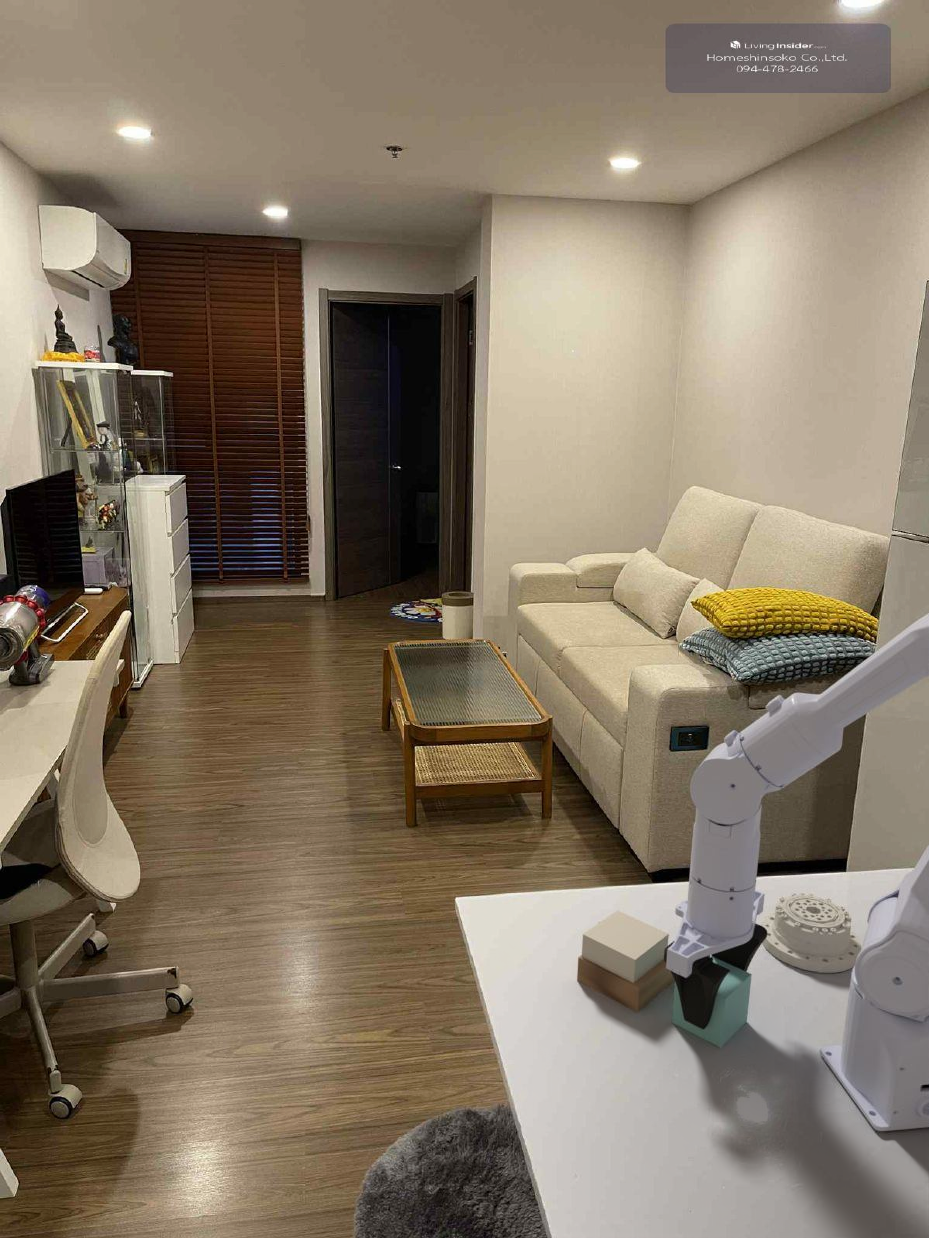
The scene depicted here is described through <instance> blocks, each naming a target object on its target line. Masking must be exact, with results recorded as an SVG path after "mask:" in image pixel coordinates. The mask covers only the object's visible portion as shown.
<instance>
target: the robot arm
mask: <svg viewBox="0 0 929 1238" xmlns="http://www.w3.org/2000/svg"><path fill="white" fill-rule="evenodd" d="M927 677H929V612H928V613H927V614H925V615H923V616H922V617H921V618H919V619H918V620H916V621H914V622H913V623H912V624H910V625H909V626H908V627H907V628H905V629H904V630H903V631H901V632H900V633H898V634H897V635H896V636H894V637H893V638H892V639H891V640H889V641H888V642H887V643H886V644H884V645H883V646H882V647H880V648H879V649H877V650H876V651H875V652H874V653H872V654H871V655H870V656H869V657H867V658H866V659H865V660H864V661H862V662H861V663H859V664H858V665H857V666H856V667H854V668H853V669H851V670H850V671H849V672H848V673H846V674H844V676H843V677H841V678H840V679H838V680H837V681H836V682H835V683H833V684H832V685H831V686H830V687H828V688H827V689H826V690H824V691H823V692H821V693H820V694H816V693H815V694H814V693H806V692H805V693H803V692H794V693H792V694H791V695H790V696H788V697H787V698H784V697H783V695H780V694H778V695H777V696H775V697H774V698H773V699H772V700H770V701H769V702H768V703H767V704H766V705H765V710H766V711H767V712H766V713H765V714H764V715H762V716H760V717H759V718H758V719H756V720H755V721H754V722H752V723H751V724H749V725H748V726H747V727H745V728H743V730H742V731H740V732H739V733H738V731H737V730H735V729H734V730H732V731H730V732H729V733H728V734H726V736H725V737H724V738H723V743H720V744H718V745H716V746H715V747H714V748H713V749H712V750H711V751H710V752H709V753H708V755H707V756H706V757H705V758H704V760H702V762H701V763H700V765H698V767H697V768H696V769H695V770H694V773H693V774H692V777H691V779H690V783H689V792H690V793H689V794H690V797H691V800H692V803H693V805H694V806H695V817H694V818H695V821H694V823H693V830H692V838H691V839H692V840H691V843H692V844H691V853H690V864H689V866H690V868H689V879H688V889H687V890H688V891H687V900H683V901H681V902H680V903H678V904H677V905H676V906H675V910H674V913H675V915H676V916H678V917H680V918H682V919H681V922H680V925H679V927H678V931H677V934H676V936H675V939H674V940H673V941H672V942H670V943H668V946H667V947H666V948H665V950H664V961H665V963H666V968H667V969H668V970H670V971H671V973H672V975H673V977H674V980H675V981H674V983H675V982H676V985H677V988H678V992H679V997H680V1002H681V1007H682V1012H683V1016H684V1020H685V1021H687V1022H689V1023H691V1024H693V1025H695V1026H697V1027H699V1028H701V1029H705V1028H706V1027H707V1026H708V1024H709V1021H710V1019H711V1016H712V1011H713V1007H714V1002H715V998H716V995H717V992H718V990H719V987H720V985H721V983H722V981H723V980H724V978H725V977H726V975H727V974H728V973H729V972H730V970H729V969H727V968H725V967H723V966H721V965H718V964H716V963H714V962H713V957H715V958H717V959H719V960H721V961H723V962H726V963H728V964H730V965H732V966H734V967H737V968H739V969H741V970H743V971H746V972H748V970H749V966H750V964H751V962H752V960H753V959H754V957H755V954H756V952H757V951H758V950H759V948H760V947H761V945H762V944H763V941H764V940H765V939H766V938H767V930H766V929H765V928H764V927H763V926H762V924H758V923H757V917H758V916H759V915H761V914H762V913H763V912H764V904H765V903H764V902H765V893H764V892H762V891H759V890H757V889H756V886H757V885H756V884H757V876H758V875H757V874H758V865H759V864H758V863H759V854H760V844H761V827H760V826H761V816H762V807H763V806H762V805H763V804H762V799H763V797H764V796H765V795H767V794H769V793H774V792H778V791H780V790H782V789H784V788H785V787H787V786H788V785H789V784H791V783H793V782H794V781H796V780H797V779H798V778H800V777H802V776H803V775H805V774H806V773H807V772H809V771H811V770H812V769H813V768H815V767H817V766H818V765H820V764H821V763H823V762H824V761H826V760H827V759H829V758H830V757H831V756H833V755H835V754H836V753H838V752H839V751H840V750H841V749H842V745H843V736H844V729H845V728H846V727H847V726H849V725H850V724H852V723H854V722H855V721H856V720H858V719H860V718H862V717H863V716H865V715H866V714H868V713H870V712H872V711H873V710H874V709H876V708H877V707H880V706H881V705H883V704H885V703H886V702H887V701H889V700H891V699H893V698H894V697H896V696H897V695H899V694H901V693H902V692H903V691H905V690H907V689H908V688H909V687H912V686H914V685H915V684H917V683H918V682H920V681H921V680H923V679H925V678H927ZM710 956H712V957H711V958H710ZM850 975H851V976H850V983H849V989H848V990H849V991H848V996H847V1004H846V1005H847V1006H846V1011H845V1013H846V1014H845V1020H844V1028H843V1036H842V1044H837V1045H835V1044H834V1045H824V1046H820V1047H819V1054H820V1055H821V1057H822V1058H823V1059H824V1062H826V1064H827V1065H828V1066H829V1068H830V1070H831V1071H832V1073H833V1074H834V1075H835V1076H836V1078H837V1079H838V1081H839V1082H840V1084H842V1086H843V1088H844V1089H845V1090H846V1092H847V1093H848V1095H849V1096H850V1098H851V1099H852V1100H853V1101H854V1102H855V1104H856V1106H857V1107H858V1108H859V1110H860V1111H861V1112H862V1114H863V1115H864V1117H865V1118H866V1120H867V1121H868V1122H869V1124H870V1125H871V1126H872V1128H873V1129H874V1130H875V1131H878V1132H888V1131H898V1130H899V1131H901V1130H910V1129H911V1130H912V1129H920V1128H921V1129H922V1128H929V844H928V845H927V847H926V848H925V850H924V852H923V853H922V855H921V857H920V859H919V860H918V861H917V863H916V864H915V866H914V868H913V869H912V870H911V871H909V872H907V873H906V874H905V875H904V876H903V878H902V879H901V881H900V883H898V885H897V887H895V889H893V890H892V891H889V892H888V893H886V894H884V895H882V896H880V897H879V898H877V899H876V900H875V901H874V902H873V904H871V907H870V908H869V912H868V915H867V927H866V931H865V933H864V938H863V941H862V944H861V952H860V953H859V954H858V956H857V959H856V963H855V966H854V967H853V968H851V974H850Z"/></svg>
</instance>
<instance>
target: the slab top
mask: <svg viewBox="0 0 929 1238" xmlns="http://www.w3.org/2000/svg"><path fill="white" fill-rule="evenodd" d="M669 935H670V934H669V933H668V932H665V931H663V930H662V929H660V928H657V927H655V926H652V925H651V924H648V923H646V922H644V921H642V920H639V919H637V918H635V917H633V916H631V915H629V914H626V913H624V912H622V911H619V910H616V911H614V912H613V913H612V914H610V915H609V916H607V917H606V918H605V919H603V920H602V921H600V922H599V923H597V924H596V925H595V926H593V927H592V928H590V929H589V930H587V931H585V932H584V933H582V945H581V955H582V957H583V958H585V959H587V960H589V961H591V962H593V963H595V964H597V965H599V966H601V967H603V968H605V969H607V970H609V971H611V972H613V973H614V974H616V975H618V976H620V977H622V978H624V979H626V980H628V981H630V982H632V983H634V982H636V981H637V980H638V979H639V978H641V977H642V976H643V975H644V974H646V973H647V972H648V971H649V970H651V969H652V968H653V967H654V966H655V965H657V964H658V963H659V962H660V961H662V960H663V959H664V950H665V948H666V947H667V946H668V945H669V938H670V936H669Z"/></svg>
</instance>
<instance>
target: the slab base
mask: <svg viewBox="0 0 929 1238" xmlns="http://www.w3.org/2000/svg"><path fill="white" fill-rule="evenodd" d="M576 981H577V982H579V983H581V984H583V985H584V986H586V987H588V988H590V989H592V990H594V991H596V992H598V993H599V994H602V995H603V996H605V997H607V998H610V999H611V1000H613V1001H615V1002H617V1003H618V1004H620V1005H623V1006H624V1007H626V1008H628V1009H629V1010H632V1011H634V1012H636V1013H638V1012H640V1011H641V1010H642V1009H643V1008H645V1007H646V1006H647V1005H648V1004H650V1002H652V1001H653V1000H654V999H655V998H656V997H658V995H660V994H661V993H662V992H663V991H665V990H666V989H667V988H668V987H669V986H671V985H672V984H673V983H675V980H674V977H673V975H672V973H671V971H670V970H668V969H667V968H666V963H665V961H664V959H663V960H662V961H660V962H659V963H658V964H657V965H655V966H654V967H653V968H652V969H651V970H649V971H648V972H647V973H646V974H644V975H643V976H642V977H641V978H639V979H638V980H637V981H636V982H634V983H632V982H630V981H628V980H626V979H624V978H622V977H620V976H618V975H616V974H614V973H613V972H611V971H609V970H607V969H605V968H603V967H601V966H599V965H597V964H595V963H593V962H591V961H589V960H587V959H585V958H583V957H582V954H581V955H580V956H578V959H577V976H576Z"/></svg>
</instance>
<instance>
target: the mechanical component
mask: <svg viewBox="0 0 929 1238" xmlns="http://www.w3.org/2000/svg"><path fill="white" fill-rule="evenodd" d="M851 925H852V916H850V912H849V911H848V910H846V908H845V907H844V906H843V905H842V906H841V905H840V906H839V905H837V904H836V903H834V902H832V899H830V898H821V897H818V896H815V894H813V893H808V894H805V893H803V892H800V893H799V894H797V893H793V892H792V893H791V895H790V896H787V897H782V896H781V897H780V898H779V901H778V902H777V903H776V906H775V911H774V913H771V914H769V915H768V916H766V917H765V918H764V920H763V921H762V923H761V926H763V927H764V928H765V929H766V930H767V938H766V939H765V940H764V941H763V943H762V944H763V946H764V948H765V949H766V950H767V951H768V952H769V953H770V954H771V955H772V956H774V958H776V959H779V960H780V961H781V962H783V963H785V964H788V965H789V966H792V967H795V968H797V969H800V970H805V971H809V972H814V973H821V974H823V973H826V974H827V973H829V974H830V973H831V974H832V973H833V974H834V973H840V972H845V971H847V970H850V969H851V970H852V969H853V967H854V966H855V963H856V959H857V956H858V954H859V953H860V952H861V949H862V943H861V940H860V939H859V936H858V935H857V934H856V933H855V931H854V930H853V929H852V927H851Z"/></svg>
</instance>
